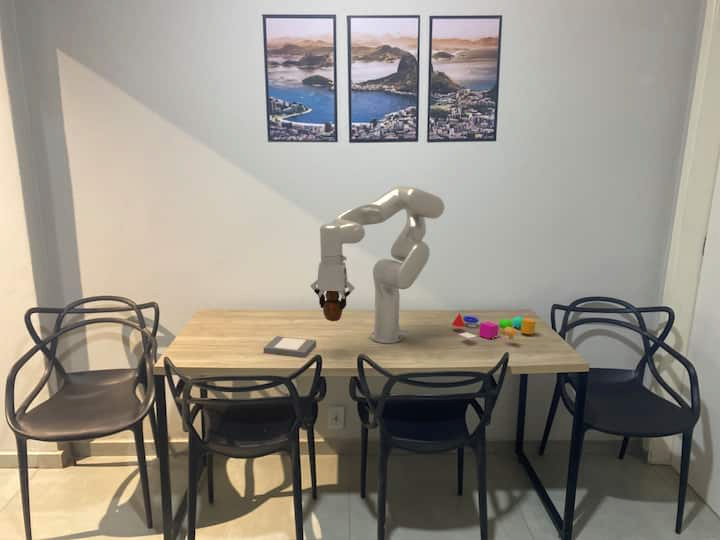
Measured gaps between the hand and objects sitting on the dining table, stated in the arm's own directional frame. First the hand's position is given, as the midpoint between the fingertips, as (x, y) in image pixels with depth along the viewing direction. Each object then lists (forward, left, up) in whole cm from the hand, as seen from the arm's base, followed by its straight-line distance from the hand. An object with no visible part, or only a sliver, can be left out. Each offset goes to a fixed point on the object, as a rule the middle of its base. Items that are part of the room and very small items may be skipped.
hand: (332, 307), depth 187 cm
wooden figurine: (0, 0, -5) cm, 5 cm away
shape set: (-56, -36, -18) cm, 69 cm away
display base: (+16, 0, -18) cm, 24 cm away
